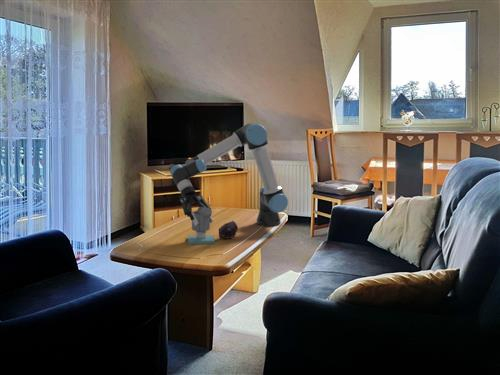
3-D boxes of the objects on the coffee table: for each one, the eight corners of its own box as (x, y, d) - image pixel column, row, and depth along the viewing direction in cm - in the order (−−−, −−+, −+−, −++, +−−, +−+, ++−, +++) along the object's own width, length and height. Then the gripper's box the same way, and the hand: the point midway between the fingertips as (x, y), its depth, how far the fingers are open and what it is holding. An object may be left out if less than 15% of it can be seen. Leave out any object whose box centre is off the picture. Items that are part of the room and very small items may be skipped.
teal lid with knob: (213, 237, 244) (213, 227, 243) (214, 243, 232) (214, 233, 231) (188, 238, 242) (187, 228, 241) (187, 244, 230) (187, 234, 230)
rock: (216, 240, 243) (231, 242, 238) (214, 225, 241) (229, 228, 235) (229, 232, 253) (243, 235, 247) (227, 218, 250) (242, 220, 245)
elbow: (188, 228, 236) (188, 206, 235) (202, 226, 243) (202, 204, 241) (200, 232, 229) (201, 209, 227) (214, 229, 235) (214, 207, 234)
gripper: (199, 191, 252) (217, 224, 243) (167, 195, 237) (184, 230, 228) (205, 183, 248) (223, 216, 239) (172, 187, 232) (190, 222, 224)
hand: (204, 223), depth 234 cm, fingers closed on elbow, 9 cm apart
